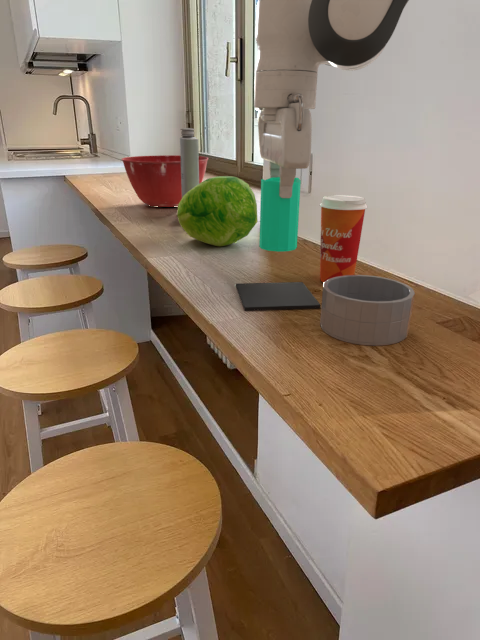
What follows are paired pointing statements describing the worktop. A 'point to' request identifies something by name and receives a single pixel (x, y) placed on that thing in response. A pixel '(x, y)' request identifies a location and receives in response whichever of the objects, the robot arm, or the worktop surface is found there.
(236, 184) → the lettuce
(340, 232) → the coffee cup
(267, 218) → the candle
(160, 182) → the mixing bowl
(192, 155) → the flask
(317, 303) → the coaster
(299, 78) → the robot arm
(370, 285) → the tin
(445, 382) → the worktop surface
